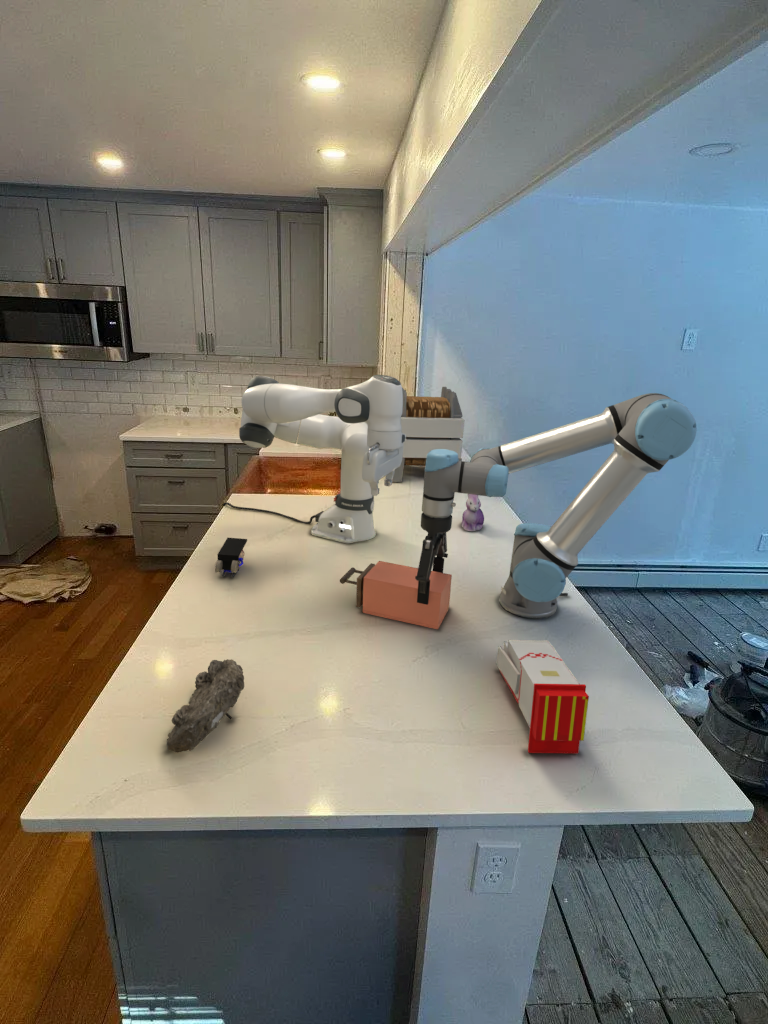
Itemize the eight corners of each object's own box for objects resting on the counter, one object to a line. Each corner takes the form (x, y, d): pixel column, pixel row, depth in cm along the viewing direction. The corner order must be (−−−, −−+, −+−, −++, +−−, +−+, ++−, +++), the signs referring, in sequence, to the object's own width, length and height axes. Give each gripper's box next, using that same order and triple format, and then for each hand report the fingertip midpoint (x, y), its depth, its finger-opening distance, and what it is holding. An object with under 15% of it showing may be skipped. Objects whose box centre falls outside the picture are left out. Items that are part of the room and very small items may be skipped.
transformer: (382, 463, 289) (386, 382, 275) (445, 464, 293) (451, 384, 279) (390, 482, 257) (394, 392, 243) (460, 483, 261) (468, 394, 247)
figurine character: (238, 584, 162) (249, 557, 175) (236, 562, 158) (247, 536, 172) (215, 584, 161) (227, 556, 175) (212, 561, 158) (225, 535, 171)
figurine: (470, 533, 202) (474, 493, 197) (453, 524, 211) (457, 485, 206) (491, 530, 207) (495, 491, 202) (474, 520, 215) (478, 483, 210)
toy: (545, 623, 127) (598, 692, 98) (539, 677, 130) (590, 761, 101) (491, 622, 127) (529, 691, 98) (487, 677, 130) (522, 760, 100)
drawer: (337, 602, 150) (337, 574, 147) (352, 586, 159) (352, 559, 156) (426, 622, 142) (428, 592, 140) (436, 604, 151) (439, 576, 148)
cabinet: (362, 612, 147) (363, 577, 144) (377, 594, 157) (379, 560, 154) (437, 629, 141) (441, 593, 138) (448, 609, 151) (451, 574, 148)
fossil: (192, 660, 117) (244, 628, 112) (224, 691, 120) (276, 661, 115) (142, 746, 98) (202, 712, 93) (182, 779, 101) (242, 748, 96)
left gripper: (380, 449, 137) (378, 503, 142) (408, 434, 155) (405, 482, 160) (356, 445, 139) (355, 499, 144) (386, 431, 158) (384, 479, 162)
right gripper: (438, 533, 125) (431, 617, 133) (463, 501, 148) (455, 574, 155) (406, 527, 128) (400, 610, 135) (435, 496, 150) (429, 569, 157)
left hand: (381, 490), depth 152 cm, fingers open, 8 cm apart
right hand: (430, 591), depth 145 cm, fingers open, 13 cm apart
